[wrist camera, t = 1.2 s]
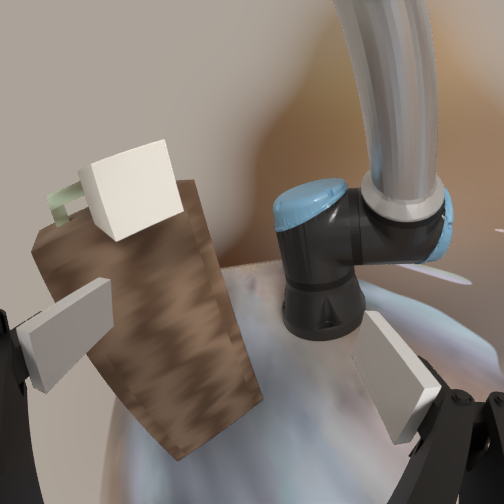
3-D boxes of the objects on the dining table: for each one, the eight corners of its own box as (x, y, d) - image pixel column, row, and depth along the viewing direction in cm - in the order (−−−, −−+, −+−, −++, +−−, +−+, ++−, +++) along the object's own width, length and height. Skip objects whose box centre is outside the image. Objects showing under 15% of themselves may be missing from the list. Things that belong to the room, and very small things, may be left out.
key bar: (113, 197, 28) (102, 162, 26) (183, 210, 15) (164, 139, 13) (80, 211, 26) (68, 176, 24) (116, 241, 13) (90, 164, 11)
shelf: (209, 356, 47) (137, 159, 33) (263, 399, 36) (184, 143, 23) (137, 402, 39) (30, 205, 25) (177, 461, 28) (15, 211, 15)
